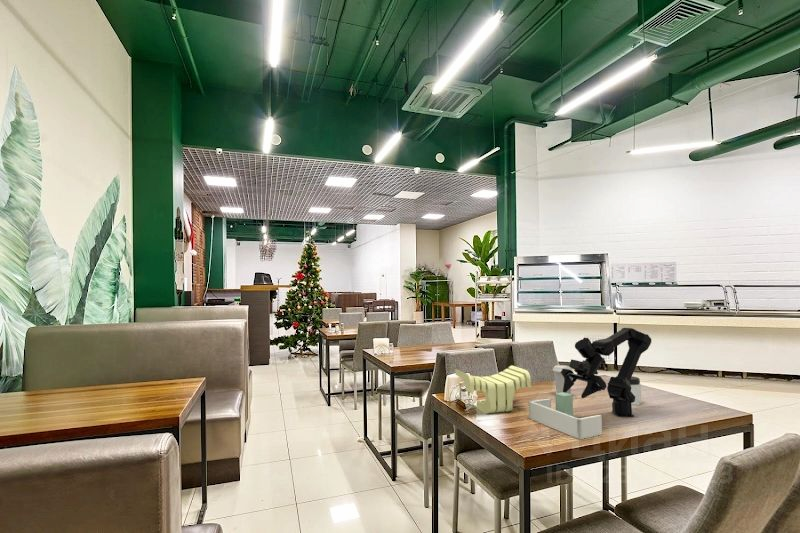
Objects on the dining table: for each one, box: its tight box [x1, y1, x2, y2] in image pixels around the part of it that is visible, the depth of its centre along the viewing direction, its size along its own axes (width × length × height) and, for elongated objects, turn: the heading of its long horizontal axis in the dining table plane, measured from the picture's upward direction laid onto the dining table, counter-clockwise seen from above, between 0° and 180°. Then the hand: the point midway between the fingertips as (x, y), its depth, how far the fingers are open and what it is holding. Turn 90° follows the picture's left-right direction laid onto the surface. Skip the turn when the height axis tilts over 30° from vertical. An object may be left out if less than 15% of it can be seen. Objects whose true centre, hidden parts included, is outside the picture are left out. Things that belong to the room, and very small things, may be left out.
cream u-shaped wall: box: [528, 398, 603, 440], centre depth 152 cm, size 12×26×7 cm, turn 23°
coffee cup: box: [552, 364, 574, 395], centre depth 197 cm, size 10×10×15 cm
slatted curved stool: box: [455, 365, 532, 414], centre depth 176 cm, size 30×16×18 cm, turn 105°
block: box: [554, 392, 574, 417], centre depth 153 cm, size 4×4×12 cm
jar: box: [630, 375, 643, 406], centre depth 184 cm, size 9×8×12 cm
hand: (572, 394), depth 155 cm, fingers open, 9 cm apart
